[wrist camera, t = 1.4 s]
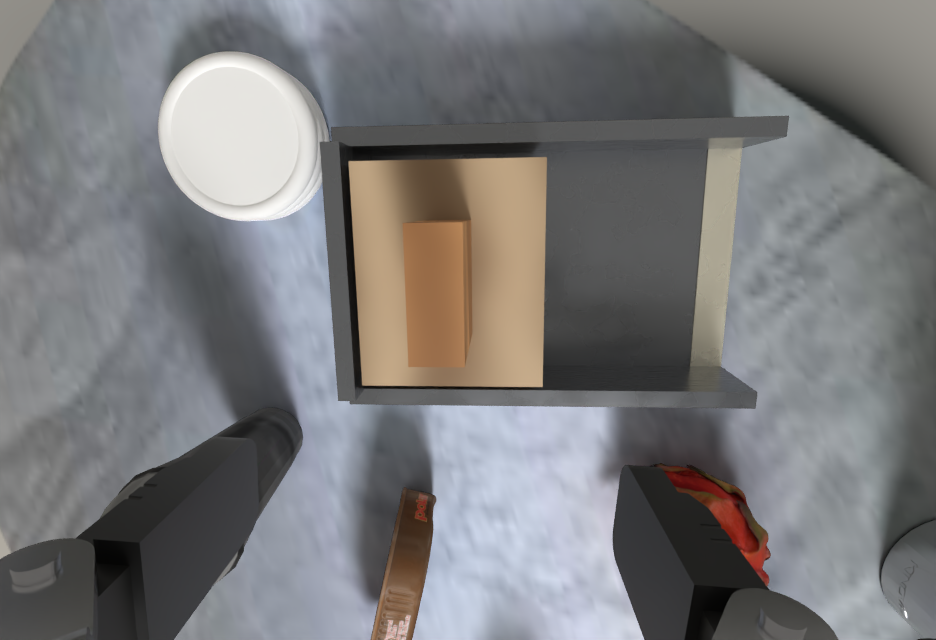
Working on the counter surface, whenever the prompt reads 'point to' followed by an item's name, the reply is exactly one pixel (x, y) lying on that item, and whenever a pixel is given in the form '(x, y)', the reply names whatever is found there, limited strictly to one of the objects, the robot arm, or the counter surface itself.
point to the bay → (586, 255)
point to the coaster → (242, 137)
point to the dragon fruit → (725, 511)
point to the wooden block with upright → (450, 270)
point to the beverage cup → (275, 455)
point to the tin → (405, 568)
